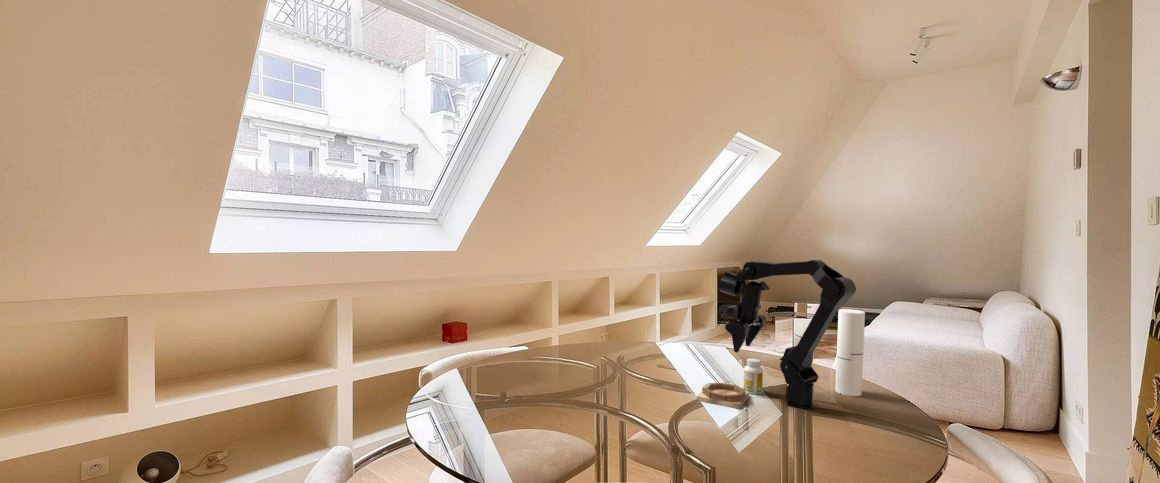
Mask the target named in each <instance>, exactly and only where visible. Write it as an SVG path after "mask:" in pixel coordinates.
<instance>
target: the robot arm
mask: <svg viewBox="0 0 1160 483" xmlns="http://www.w3.org/2000/svg"><path fill="white" fill-rule="evenodd" d="M792 275H793V276H794V275H809V276H811V277H812V279H813V281H814V282H815V283H816V285H817V286H818V287H820V288H821V292H820V298H819V306H818V308H817V309H816V311H815V313H814V315H813V316H812V318H811V320H810V321H809V323H808V325H807V327H806V329H805V331H804V332H803V334H802V336H801V338H800V339H799V342H797V345H794V346H791V347H787V348H785V350H784V353H783V355H782V357H780V358H779V361H780V363H779V369H780V371H781V372H782V374H783V376H784V377H783V378H784V381H785V383H786V385H787V386H786V389H785V390H786V391H785V393H786V394H785V401H786V406H790V407H796V408H799V407H800V409H804V408H805V409H804V410H813V408H812V407H814V404H815V401H814V392H815V391H814V390H815V389H814V388H815V383H817V381H818V379H819V376H820V375H818V373H817V372H816V371H815V369H814V368H813V367H812V364H813V361H814V352H815V350H816V348H817V347H818V345H819V343H820V341H821V340H822V338H823V336H824V334H825V333H826V331H827V329H828V328H829V326H830V324H831V323H832V320H834V317H835V315H836V313H838V312H839V310H840V309H842V307H843V306H845V305H846V304H847V303H848V302H849V300H850V299H851V298H852V297H853V296H854V295H855V293H856V291H857V287H856V284H855V282H854V281H853V280H852V279H851V278H850V277H846V276H843V275H842V274H841V273H840V272H838V271H837V270H835V269H834V268H832V267H830V266H828V265H827V263H825V262H824V261H823V260H821V259H813V260H812V259H811V260H807V261H806V260H805V261H790V262H773V261H768V260H752V261H751V260H750V261H746V262H745V263H744V265H743V266H742V269H741V270H740V271H738V273H737V274H736V273H734V272H733V271H732V272H731V271H725V272H724V275H723V276H721V278H720V281H719V282H718V291H720V292H721V293H724V294H727V295H731V296H734V297H740V301H739V302H737V303H736V305H735V304H734V305H733V304H732V305H728V304H722V305H720V307H719V308H718V310H719V311H718V315H720V318H722V319H725V318H731V317H733V318H732V319H730V320H727V322H725V325H724V330H725V331H726V332H727V333H729V334H730V336H731V338H732V339H731V340H732V347H733V352H734V353H739V352H740V351H741V350H740V349H741V348H742V346H743V344H744V343H745V346H746V347H750V346H751V344H752V343H753V342H754V340H755V339H756V337H757V336H758V335H759V333H760V332H761V330H762V329H763V328H764V326H765V325H766V322H767V318H766V316H765V315H764V314H761V313H759V310H761V309H762V304H760V303H761V298H762V293H763V291H764V292H765V291H769V290H770V287H769V285H768V284H767V283H766V281H760V282H758V280H764V279H768V278H773V277H775V276H792Z"/></svg>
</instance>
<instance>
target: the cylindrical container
mask: <svg viewBox="0 0 1160 483" xmlns="http://www.w3.org/2000/svg"><path fill="white" fill-rule="evenodd" d="M837 313H838V314H837V319H838V320H837V338H836V339H837V340H836V342H837V343H836V346H837V347H836V362H835V363H836V366H835V367H836V368H835V388H834V389H835V390H836V391H835V390H834V391H835V392H836V393H837V394H840V393H841V394H840V395H842V396H847V397H860V396H862V393H863V392H862V390H863V389H862V388H863V371H864V370H863V368H864V367H863V366H864V345H865V344H864V343H865V342H864V341H865V321H866V312H865V311H863V310H859V309H858V310H857V309H849V308H846V309H845V308H840V309H839V310H838V311H837Z"/></svg>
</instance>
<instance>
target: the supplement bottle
mask: <svg viewBox="0 0 1160 483" xmlns="http://www.w3.org/2000/svg"><path fill="white" fill-rule="evenodd" d="M761 362H762V361H761V360H760V359H759V358H758V359H757V358H747V359H746V365H745V366H744V368H743V389H744V390H745V392H749V395H750V394H751V395H759V394H762V393H763V378H764V374H763V373H764V372H763V368H762V367H761V365H762V364H761Z"/></svg>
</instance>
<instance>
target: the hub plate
mask: <svg viewBox="0 0 1160 483" xmlns="http://www.w3.org/2000/svg"><path fill="white" fill-rule="evenodd" d="M701 390H702V391H701V392H700V393H699V394H698V395H697V396H696V401H698V402H699V401H700V402H704V403H709V404H713V405H718V406H719V405H720V406H723V407H728V408H732V409H733V408H734V409H737V410H738V409H741V408H742V406H743V404H745V402H746V401H747V399H749V397H750V393H749V392H745V390H744V388H742V387H740V386H738V385H736V384H730V383H726V382H710V383H705V385H703V386H702V388H701Z"/></svg>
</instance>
